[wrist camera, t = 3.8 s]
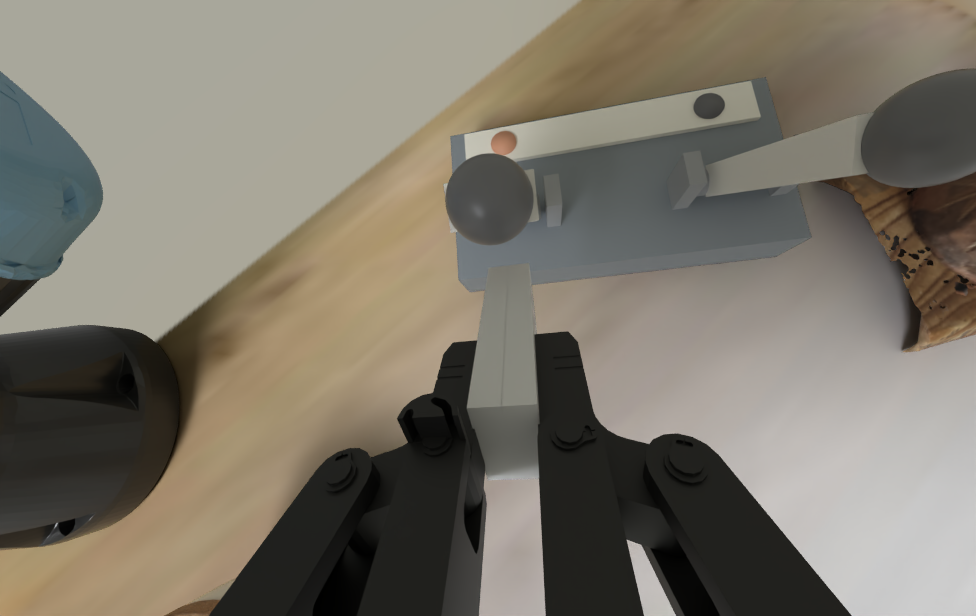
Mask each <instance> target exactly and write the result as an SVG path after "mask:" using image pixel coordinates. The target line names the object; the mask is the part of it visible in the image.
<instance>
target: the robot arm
mask: <svg viewBox="0 0 976 616" xmlns="http://www.w3.org/2000/svg"><path fill="white" fill-rule="evenodd" d="M102 200H103V190H102V185H101V182H100V179H99V176H98V173H97V172H96V169H95V168H94V166H93V164H92V163H91V161H90V159H89V158H88V156H87V155H86V154H85V152H84V151H83V150H82V148H81V147H80V146H79V145H78V143H77V142H76V141H75V140H74V139H73V138H72V137H71V135H70V134H69V133H68V132H67V131H66V130H65V129H64V128H63V127H62V126H61V125H60V124H59V123H58V122H57V121H56V120H55V119H54V118H53V117H52V116H51V115H50V114H49V113H48V112H46V111H45V110H44V109H43V108H42V107H41V106H40V105H39V104H38V103H37V102H36V101H34V100H33V99H32V98H31V97H30V96H29V95H27V94H26V93H25V92H24V91H23V90H22V89H21V88H20V87H19V86H17V85H16V84H15V83H14V82H13V81H11V80H10V79H9V78H8V77H7V76H5V75H4V74H3V73H2V72H1V71H0V316H1V315H3V314H4V313H5V312H6V311H7V310H8V309H9V308H10V307H11V306H12V305H13V304H14V303H15V302H16V301H17V300H18V299H19V298H20V297H22V296H23V295H24V294H25V293H26V292H27V290H29V289H30V288H31V287H32V286H33V285H34V284H35V283H36V282H37V281H39V280H40V279H41V278H44V277H48V276H50V275H51V274H52V273H54V272H55V271H56V270H57V269H58V267H59V266H60V264H61V263H62V261H63V253H64V252H65V251H66V250H67V249H68V248H69V246H70V245H71V244H72V243H73V242H74V241H75V240H76V238H77V237H78V236H79V235H80V234H81V233H82V232H83V231H84V230H85V229H86V227H87V226H88V225H89V224H90V223H91V222H92V221H93V220H94V219H95V217H96V216H97V214H98V212H99V211H100V208H101V205H102ZM437 378H438V380H436V384H435V388H434V392H433V393H431V394H426V395H422V396H420V397H418V398H416V399H414V400H412V401H411V402H410V403H409V404H407V405H406V406H405V407H404V408H403V409H402V411H401V413H400V414H399V416H398V418H397V420H398V422H399V424H400V426H401V428H402V430H403V433H404V435H405V437H406V439H407V441H408V443H407V444H405V445H404V446H401V447H399V448H397V449H395V450H392V451H389V452H386V453H383V454H380V455H377V456H374V457H371V458H370V456H369V454H368V453H367V452H366V451H364V450H362V449H360V448H349V449H346V450H343V451H340V452H337V453H336V454H334V455H333V456H331V457H330V458H328V459H327V460H326V461H325V462H324V463H323V464H322V465H321V466H320V467H319V468H318V469H317V470H316V472H315V473H314V474H313V476H312V477H311V478H310V480H309V481H308V482H307V484H306V485H305V486H304V488H303V489H302V490H301V492H300V493H299V495H298V496H297V497H296V499H295V500H294V501H293V503H292V504H291V505H290V507H289V508H288V509H287V511H286V512H285V513H284V515H283V516H282V517H281V519H280V520H279V521H278V523H277V524H276V525H275V527H274V528H273V530H272V531H271V532H270V534H269V535H268V536H267V538H266V539H265V540H264V542H263V543H262V544H261V546H260V547H259V548H258V550H257V551H256V552H255V554H254V555H253V556H252V558H251V559H250V561H249V562H248V563H247V565H246V566H245V567H244V569H243V570H242V571H241V573H240V574H239V575H238V577H237V578H236V579H235V581H234V582H233V583H232V585H231V586H230V587H229V589H228V590H227V592H226V593H225V594H224V596H223V597H222V598H221V600H220V601H219V602H218V604H217V605H216V606H215V608H214V609H213V610H212V612H211V613H210V614H209V616H479V603H480V589H481V576H482V562H483V548H484V534H485V520H486V506H487V503H486V495H485V491H484V476H485V472H486V475H487V479H488V480H512V479H539V485H540V506H541V526H542V547H543V568H544V588H545V609H546V616H644V614H643V609H642V605H641V601H640V596H639V592H638V588H637V583H636V579H635V575H634V570H633V566H632V562H631V557H630V553H629V549H628V544H627V540H630V541H632V542H635V543H638V544H641V545H642V547H643V549H644V551H645V553H646V555H647V557H648V559H649V561H650V563H651V565H652V567H653V569H654V571H655V573H656V575H657V577H658V580H659V582H660V584H661V586H662V588H663V590H664V592H665V594H666V596H667V598H668V600H669V602H670V604H671V606H672V608H673V610H674V612H675V614H676V616H851V614H850V613H849V612H848V611H847V610H846V608H845V607H844V606H843V605H842V603H841V602H840V601H839V600H838V599H837V597H836V596H835V595H834V594H833V593H832V591H831V590H830V589H829V588H828V587H827V585H826V584H825V583H824V582H823V581H822V579H821V578H820V577H819V576H818V574H817V573H816V572H815V571H814V570H813V568H812V567H811V566H810V565H809V564H808V562H807V561H806V560H805V559H804V558H803V556H802V555H801V554H800V553H799V552H798V550H797V549H796V548H795V547H794V545H793V544H792V543H791V542H790V541H789V539H788V538H787V537H786V536H785V535H784V533H783V532H782V531H781V530H780V529H779V527H778V526H777V525H776V524H775V523H774V521H773V520H772V519H771V518H770V516H769V515H768V514H767V513H766V512H765V510H764V509H763V508H762V507H761V506H760V504H759V503H758V502H757V501H756V500H755V498H754V497H753V496H752V495H751V494H750V492H749V491H748V490H747V489H746V487H745V486H744V485H743V484H742V483H741V481H740V480H739V479H738V478H737V477H736V475H735V474H734V473H733V472H732V471H731V469H730V468H729V467H728V466H727V465H726V463H725V462H724V461H723V460H722V458H721V457H720V456H719V455H718V454H717V453H716V452H715V451H713V450H712V449H711V448H710V447H709V446H708V445H707V444H705V443H703V442H701V441H699V440H697V439H695V438H693V437H690V436H686V435H681V434H665V435H662V436H660V437H658V438H656V439H653V440H652V442H651V443H650V444H646V443H642V442H638V441H634V440H630V439H626V438H623V437H620V436H617V435H615V434H614V433H612V432H610V431H608V430H607V429H606V428H605V427H604V426H602V425H601V424H600V422H599V421H598V420H597V418H596V417H595V414H594V412H593V408H592V404H591V399H590V395H589V390H588V386H587V381H586V377H585V373H584V369H583V364H582V359H581V355H580V350H579V346H578V342H577V341H576V340H575V339H574V337H573V336H572V335H571V334H570V333H569V332H557V333H545V334H537V330H536V318H535V310H534V301H533V292H532V284H531V275H530V266H529V263H525V264H517V265H509V266H500V267H492V268H489V269H488V275H487V282H486V288H485V294H484V301H483V307H482V314H481V320H480V326H479V333H478V339H477V341H466V342H454V343H452V344H451V346H450V347H449V348H448V349H447V351H446V352H445V353H444V355H443V358H442V362H441V366H440V369H439V373H438V377H437ZM178 420H179V392H178V386H177V381H176V377H175V373H174V371H173V368H172V366H171V363H170V361H169V360H168V358H167V356H166V355H165V353H164V352H163V350H162V349H161V348H160V347H159V346H158V345H157V344H156V343H155V342H154V341H153V340H152V339H150V338H149V337H147V336H146V335H144V334H142V333H139V332H137V331H134V330H130V329H123V328H113V327H105V326H96V325H78V326H69V327H61V328H52V329H44V330H36V331H28V332H19V333H11V334H3V335H0V550H8V549H20V548H31V547H43V546H49V545H54V544H59V543H62V542H66V541H69V540H72V539H75V538H78V537H81V536H84V535H87V534H90V533H93V532H96V531H99V530H101V529H104V528H107V527H109V526H111V525H113V524H115V523H116V522H118V521H120V520H121V519H122V518H124V517H125V516H127V515H128V514H129V513H130V512H132V511H133V510H134V509H135V508H136V507H137V506H138V505H139V504H140V503H141V502H142V501H143V500H144V498H145V497H146V496H147V495H148V494H149V492H150V491H151V489H152V488H153V487H154V485H155V484H156V482H157V481H158V479H159V477H160V475H161V474H162V472H163V470H164V468H165V466H166V463H167V461H168V459H169V456H170V454H171V451H172V448H173V444H174V441H175V437H176V433H177V427H178ZM626 539H627V540H626Z"/></svg>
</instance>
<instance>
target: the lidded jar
mask: <svg viewBox="0 0 976 616" xmlns="http://www.w3.org/2000/svg"><path fill="white" fill-rule="evenodd" d="M234 581H235V579H233V580H231V581H229V582H227V583H225V584H223V585H221V586H219V587H217V588H215V589H213V590H211V591H209V592H208V593H206V594H204V595H202V596H201V597H199V598H197V599H195V600H194V601H192V602H190V603H189V604H187V605H184V606H182V607H180V608H178V609H176V610H174V611H172V612H170V613H169V614H167V615H165V616H209V614H210V613H211V612H212V610H213V609H214V608H215V606H216V605H217V604H218V602H219V601H220V600H221V598H222V597H223V596H224V594H225V593H226V592H227V590H228V589H229V587H230V586H231V585H232V583H233V582H234Z"/></svg>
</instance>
